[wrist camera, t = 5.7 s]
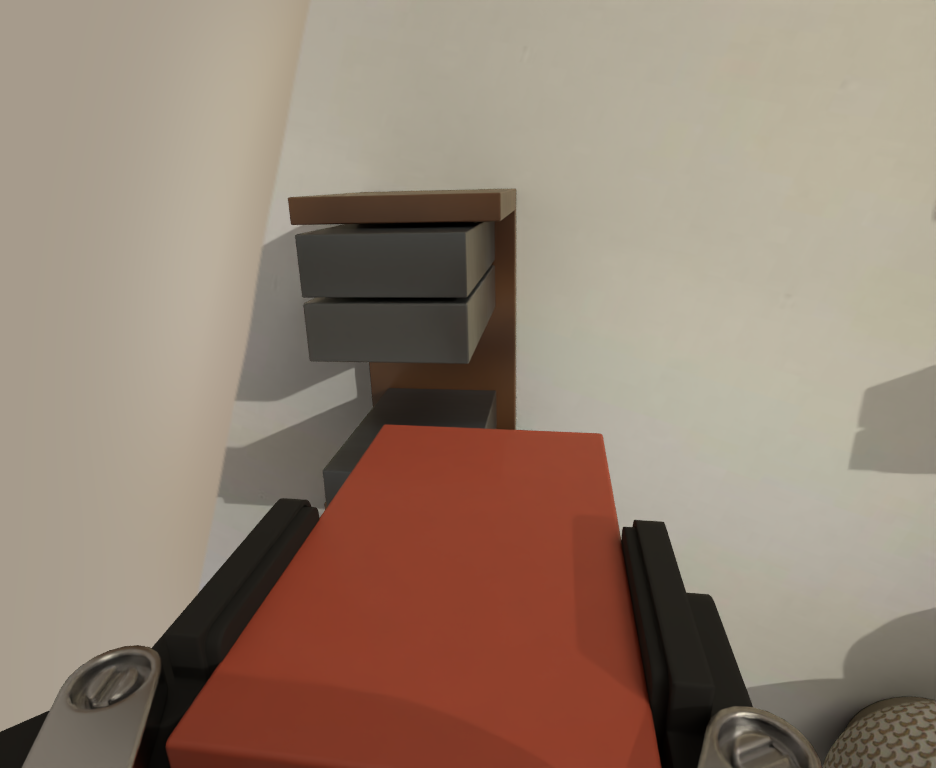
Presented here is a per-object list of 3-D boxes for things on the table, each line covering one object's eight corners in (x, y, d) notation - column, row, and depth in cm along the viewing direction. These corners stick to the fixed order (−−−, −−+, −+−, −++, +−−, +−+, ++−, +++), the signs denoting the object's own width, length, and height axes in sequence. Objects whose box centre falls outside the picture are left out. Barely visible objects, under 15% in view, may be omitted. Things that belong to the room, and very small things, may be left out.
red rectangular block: (383, 423, 17) (160, 743, 7) (602, 432, 16) (670, 807, 6) (388, 492, 17) (190, 865, 8) (597, 504, 16) (652, 936, 7)
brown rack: (361, 192, 31) (262, 199, 20) (516, 188, 30) (495, 193, 19) (380, 440, 35) (308, 549, 25) (516, 445, 34) (498, 561, 24)
